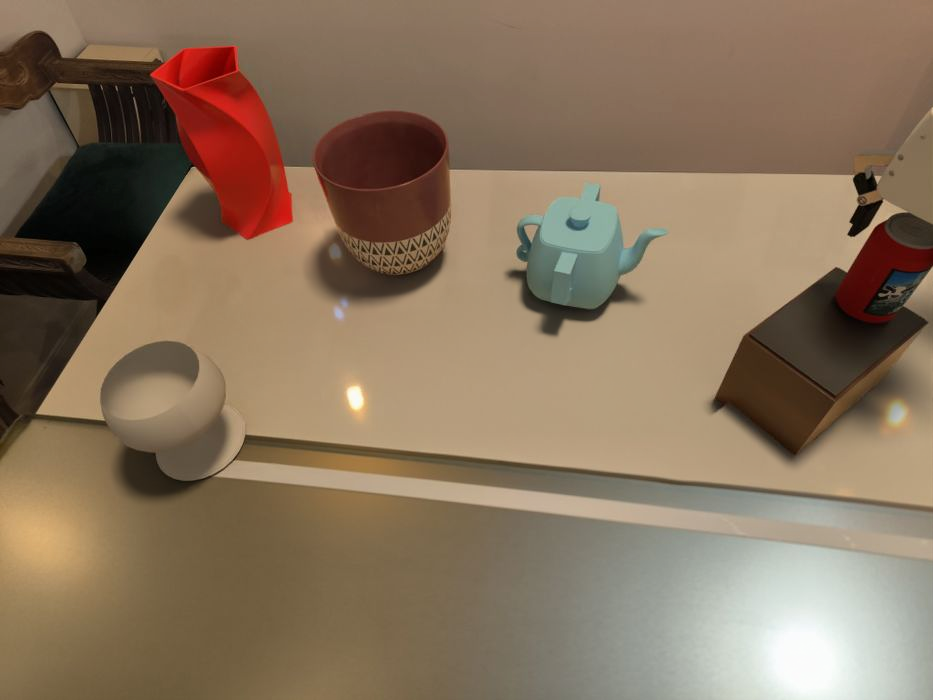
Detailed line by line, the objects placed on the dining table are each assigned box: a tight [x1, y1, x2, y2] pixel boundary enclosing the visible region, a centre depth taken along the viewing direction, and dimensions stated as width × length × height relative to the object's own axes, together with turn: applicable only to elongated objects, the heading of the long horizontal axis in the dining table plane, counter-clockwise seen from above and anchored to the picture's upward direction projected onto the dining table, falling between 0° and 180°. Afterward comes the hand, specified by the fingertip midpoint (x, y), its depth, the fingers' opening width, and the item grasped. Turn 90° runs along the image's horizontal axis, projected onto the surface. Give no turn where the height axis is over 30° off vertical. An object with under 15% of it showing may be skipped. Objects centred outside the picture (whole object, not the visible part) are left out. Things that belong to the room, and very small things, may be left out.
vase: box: [149, 45, 294, 240], centre depth 102 cm, size 15×14×28 cm
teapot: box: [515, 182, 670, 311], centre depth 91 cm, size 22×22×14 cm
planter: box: [312, 110, 452, 276], centre depth 95 cm, size 20×20×21 cm
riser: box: [714, 266, 930, 457], centre depth 77 cm, size 18×12×14 cm, turn 126°
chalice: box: [99, 340, 247, 482], centre depth 77 cm, size 14×14×15 cm
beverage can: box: [836, 211, 933, 323], centre depth 68 cm, size 7×7×12 cm
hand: (898, 253), depth 66 cm, fingers open, 9 cm apart
